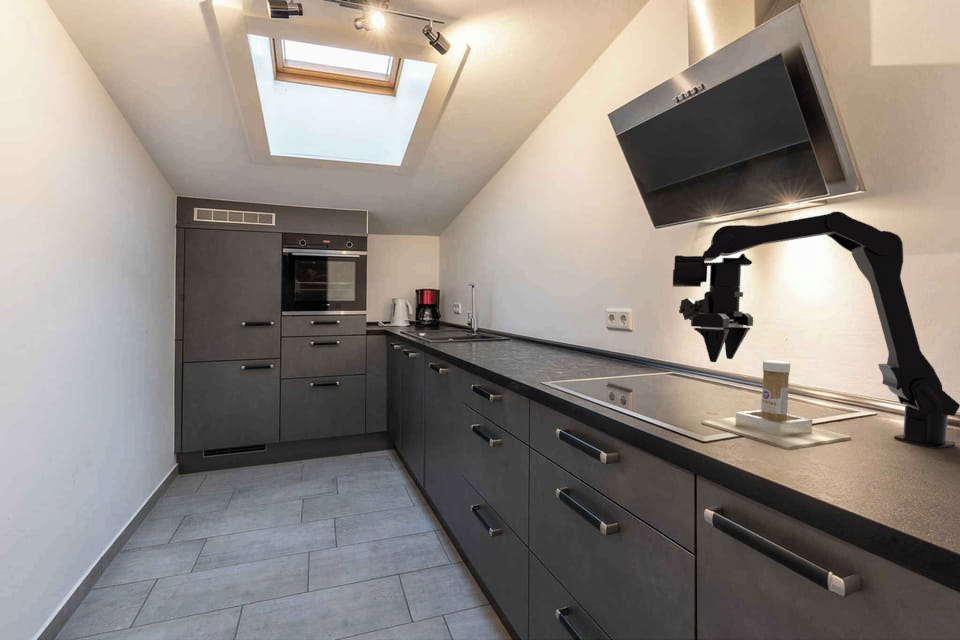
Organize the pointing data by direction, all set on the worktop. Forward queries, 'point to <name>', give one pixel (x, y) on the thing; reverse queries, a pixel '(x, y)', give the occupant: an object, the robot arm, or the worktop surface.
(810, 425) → the socket collar
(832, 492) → the worktop surface
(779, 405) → the sprinkles bottle
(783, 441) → the birch board
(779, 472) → the worktop surface
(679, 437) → the worktop surface
